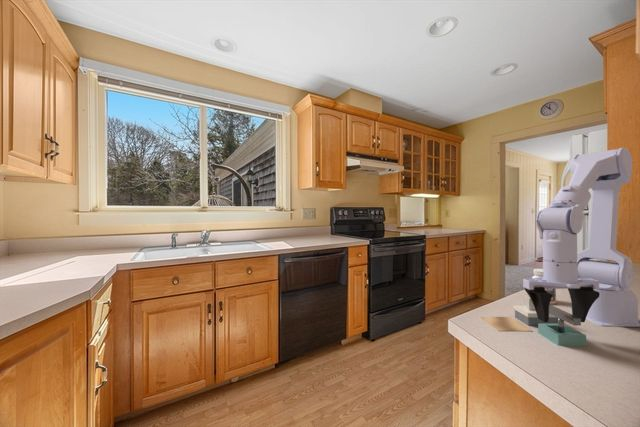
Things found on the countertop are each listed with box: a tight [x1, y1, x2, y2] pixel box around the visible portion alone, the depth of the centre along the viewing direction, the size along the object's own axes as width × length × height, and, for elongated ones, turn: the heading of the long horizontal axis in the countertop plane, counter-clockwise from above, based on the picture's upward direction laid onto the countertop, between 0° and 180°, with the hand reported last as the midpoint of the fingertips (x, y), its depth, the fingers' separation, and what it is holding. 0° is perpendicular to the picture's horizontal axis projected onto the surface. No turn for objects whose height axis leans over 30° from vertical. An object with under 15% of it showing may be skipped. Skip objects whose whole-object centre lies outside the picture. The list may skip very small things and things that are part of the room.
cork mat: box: [480, 316, 534, 332], centre depth 66 cm, size 8×8×1 cm
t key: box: [549, 304, 582, 333], centre depth 58 cm, size 8×2×6 cm, turn 175°
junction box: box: [514, 310, 558, 327], centre depth 67 cm, size 7×5×2 cm
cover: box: [512, 296, 556, 317], centre depth 67 cm, size 7×5×4 cm
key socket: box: [536, 323, 589, 347], centre depth 58 cm, size 6×6×2 cm
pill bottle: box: [531, 268, 557, 305], centre depth 81 cm, size 6×6×10 cm
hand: (560, 320), depth 58 cm, fingers open, 7 cm apart
